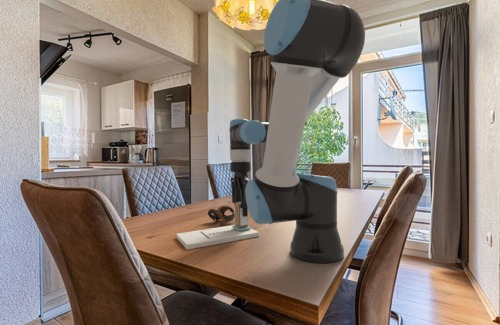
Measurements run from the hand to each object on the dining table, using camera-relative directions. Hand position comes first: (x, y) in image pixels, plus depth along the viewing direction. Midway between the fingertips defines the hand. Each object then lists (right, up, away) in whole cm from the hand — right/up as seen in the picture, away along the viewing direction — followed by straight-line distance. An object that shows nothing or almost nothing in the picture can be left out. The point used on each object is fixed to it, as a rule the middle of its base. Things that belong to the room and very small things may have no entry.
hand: (241, 223), depth 99 cm
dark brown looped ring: (-9, -4, +17) cm, 20 cm away
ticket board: (-8, -4, -5) cm, 10 cm away
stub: (0, -2, 0) cm, 2 cm away
